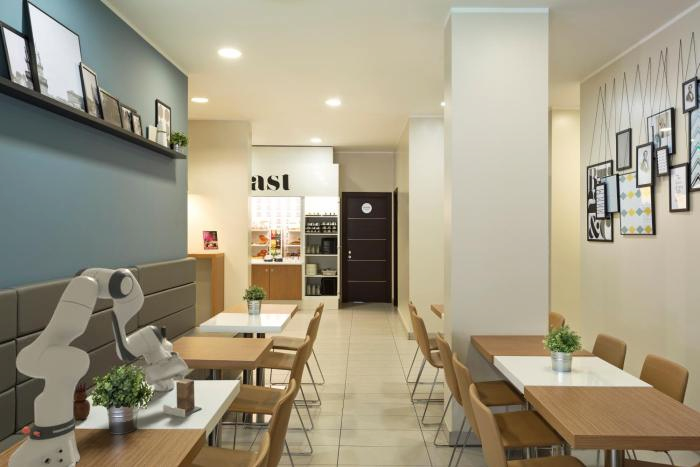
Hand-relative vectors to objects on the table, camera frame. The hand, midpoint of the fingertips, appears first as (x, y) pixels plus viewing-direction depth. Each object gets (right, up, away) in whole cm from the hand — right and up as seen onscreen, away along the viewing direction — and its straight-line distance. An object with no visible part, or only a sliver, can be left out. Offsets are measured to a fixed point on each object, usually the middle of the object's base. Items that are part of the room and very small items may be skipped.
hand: (175, 386), depth 216 cm
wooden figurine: (-35, -10, -10) cm, 38 cm away
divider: (+2, -9, -7) cm, 12 cm away
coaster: (+6, -9, -3) cm, 11 cm away
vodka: (-14, -9, +27) cm, 32 cm away
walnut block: (+6, -9, -3) cm, 11 cm away
